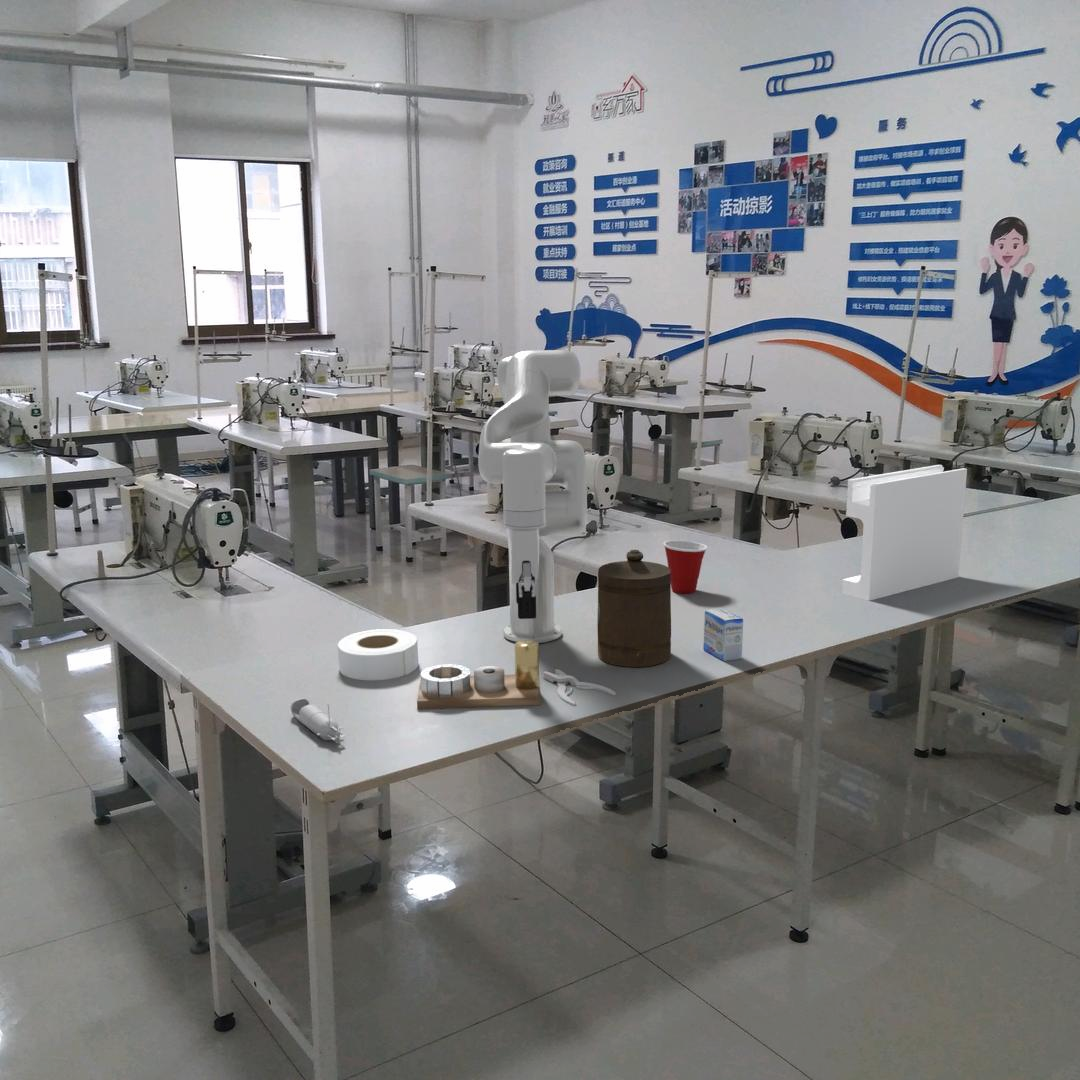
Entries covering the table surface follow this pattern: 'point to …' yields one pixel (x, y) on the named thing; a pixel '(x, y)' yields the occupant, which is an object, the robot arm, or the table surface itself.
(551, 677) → the pliers
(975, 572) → the table surface
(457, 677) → the ring
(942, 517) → the block
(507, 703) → the fitting board
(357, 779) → the table surface
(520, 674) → the brass peg
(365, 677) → the roll of tape
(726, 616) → the medicine box
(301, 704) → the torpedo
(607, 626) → the wooden container
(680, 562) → the plastic cup
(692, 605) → the table surface
